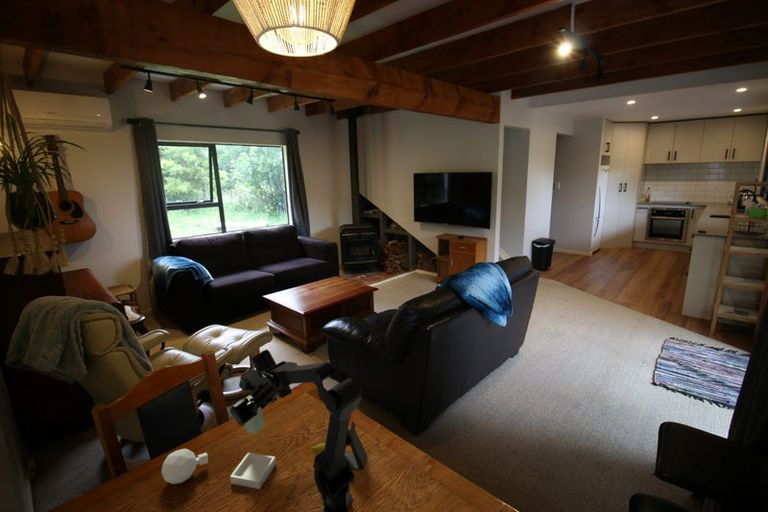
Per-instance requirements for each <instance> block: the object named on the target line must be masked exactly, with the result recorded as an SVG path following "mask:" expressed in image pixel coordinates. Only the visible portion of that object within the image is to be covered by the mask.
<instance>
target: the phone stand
mask: <svg viewBox="0 0 768 512" xmlns="http://www.w3.org/2000/svg"><path fill="white" fill-rule="evenodd" d="M349 426H350V429H349ZM349 426H348V431H347V436H346V441H345V446H344V451H343V455H344V456H345V457H346V458H347V463H348V465H349V466H350V468H351V470H352V471H353V470H355V471H360V470H362V471H364V470H365V467H366V461H367V460H366V458H367V451H366V449H365V447H364V446H363V444H362V441H361V439H360V437H359V435H358V432H357V431H356V430H357V429H356V423H355V422H353V421H352V422H351V425H349ZM347 447H350V448H351V451H352V453H350V452H349V453H347V452H346V449H347Z"/></svg>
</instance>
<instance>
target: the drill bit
mask: <svg viewBox="0 0 768 512" xmlns="http://www.w3.org/2000/svg"><path fill="white" fill-rule="evenodd" d="M325 443H326V441H320V442H319V443H318V444H316V445H314V446H312V447H309V449H310V450H311V452H312V453H313V454H314V455H315V456H316V455H317V454H319V453H320V452H321V451H323V450H324V449H325ZM315 456H314V457H315Z"/></svg>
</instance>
